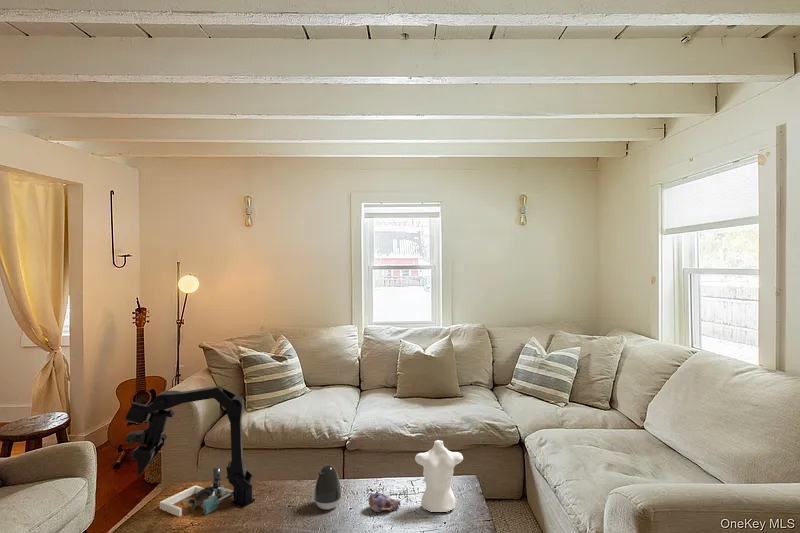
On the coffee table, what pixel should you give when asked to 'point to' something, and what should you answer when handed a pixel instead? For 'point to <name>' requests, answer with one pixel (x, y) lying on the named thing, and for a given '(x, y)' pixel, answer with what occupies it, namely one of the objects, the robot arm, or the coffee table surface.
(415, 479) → the coffee table surface
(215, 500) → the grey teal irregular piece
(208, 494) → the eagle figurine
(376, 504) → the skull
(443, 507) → the torso sculpture
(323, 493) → the grey rounded egg shape
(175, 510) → the frame
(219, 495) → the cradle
